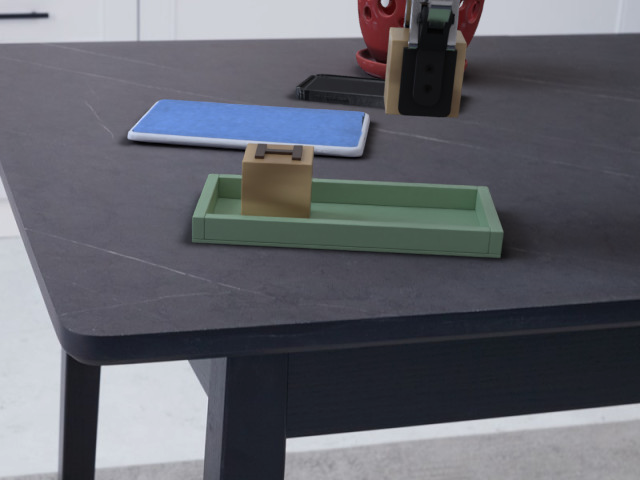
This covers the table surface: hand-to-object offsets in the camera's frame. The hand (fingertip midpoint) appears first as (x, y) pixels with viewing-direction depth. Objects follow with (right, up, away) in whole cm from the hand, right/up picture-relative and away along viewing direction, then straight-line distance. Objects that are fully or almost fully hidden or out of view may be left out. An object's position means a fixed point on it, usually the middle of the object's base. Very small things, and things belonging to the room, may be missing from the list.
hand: (421, 102), depth 73 cm
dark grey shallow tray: (+2, +10, +38) cm, 39 cm away
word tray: (-5, -7, +4) cm, 10 cm away
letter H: (-9, -7, +4) cm, 12 cm away
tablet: (-10, +3, +25) cm, 28 cm away
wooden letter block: (0, 0, 0) cm, 0 cm away
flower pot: (+7, +15, +48) cm, 51 cm away
